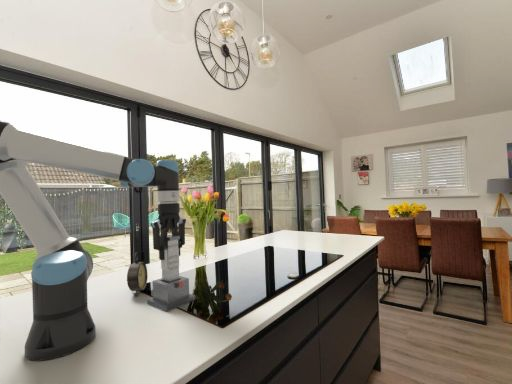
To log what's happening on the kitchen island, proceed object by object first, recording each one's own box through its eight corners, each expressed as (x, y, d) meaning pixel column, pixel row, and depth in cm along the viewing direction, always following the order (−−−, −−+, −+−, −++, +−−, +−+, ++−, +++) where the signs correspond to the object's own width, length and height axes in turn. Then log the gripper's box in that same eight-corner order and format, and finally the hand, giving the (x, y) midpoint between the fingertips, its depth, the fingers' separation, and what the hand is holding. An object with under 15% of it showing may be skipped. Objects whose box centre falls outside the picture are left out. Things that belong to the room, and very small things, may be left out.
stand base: (166, 311, 87) (166, 287, 87) (147, 303, 95) (146, 281, 95) (195, 299, 97) (194, 277, 97) (175, 293, 104) (174, 272, 104)
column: (171, 292, 92) (169, 237, 92) (160, 289, 96) (158, 236, 96) (181, 288, 96) (180, 235, 96) (171, 285, 100) (169, 234, 100)
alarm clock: (139, 297, 101) (138, 255, 101) (124, 298, 101) (123, 255, 101) (148, 287, 112) (147, 249, 112) (135, 288, 112) (134, 249, 112)
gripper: (152, 203, 87) (154, 274, 87) (194, 201, 101) (195, 263, 101) (140, 203, 92) (142, 271, 91) (181, 201, 105) (183, 260, 105)
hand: (170, 266), depth 96 cm, fingers closed on column, 4 cm apart
